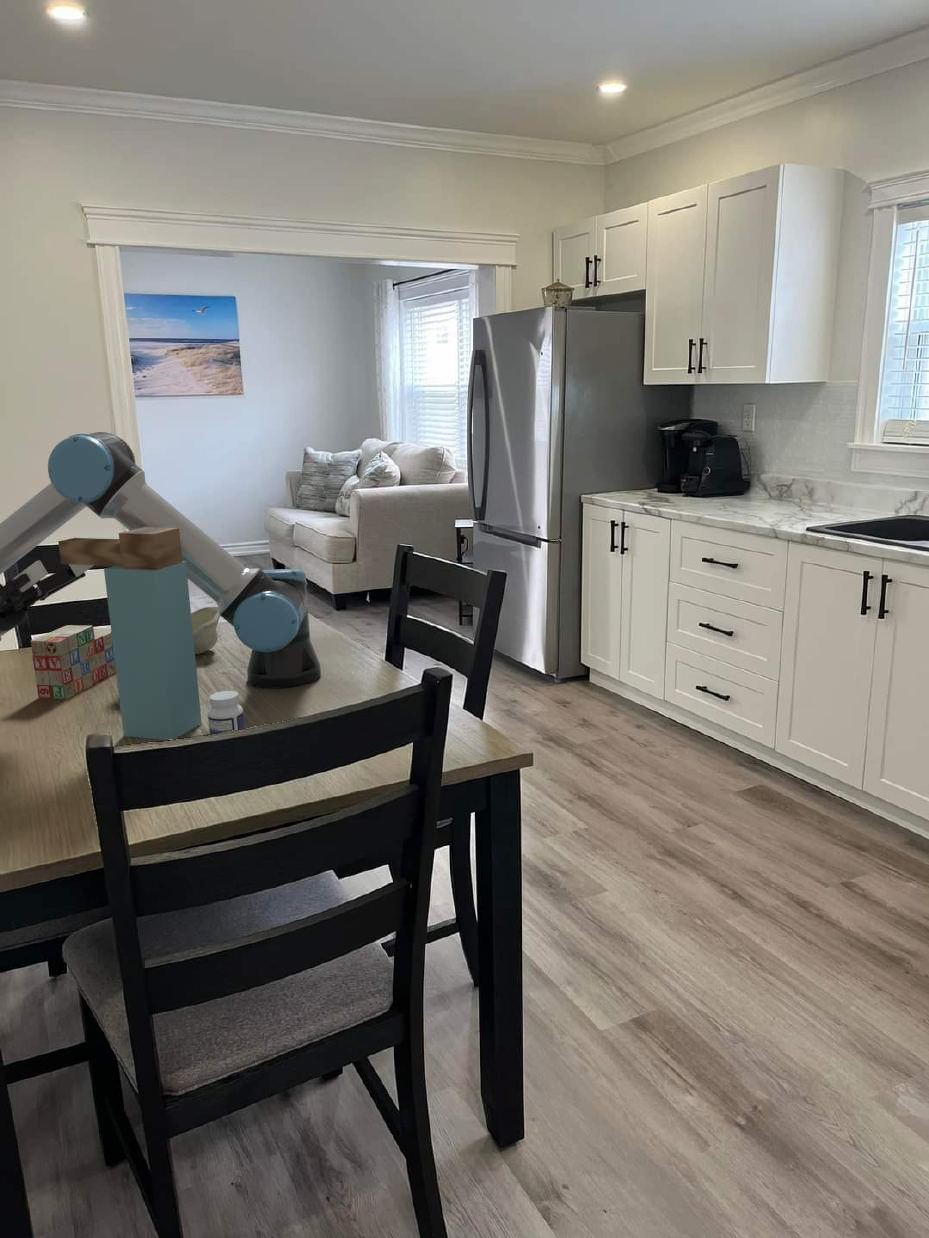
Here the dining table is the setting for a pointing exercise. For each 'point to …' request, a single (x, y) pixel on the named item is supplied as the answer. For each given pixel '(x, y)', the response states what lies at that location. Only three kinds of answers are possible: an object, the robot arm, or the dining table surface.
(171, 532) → the brown wooden block
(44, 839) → the dining table surface
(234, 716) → the pill bottle
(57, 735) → the dining table surface
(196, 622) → the bowl
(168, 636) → the stand
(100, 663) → the stack of blocks
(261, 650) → the robot arm
